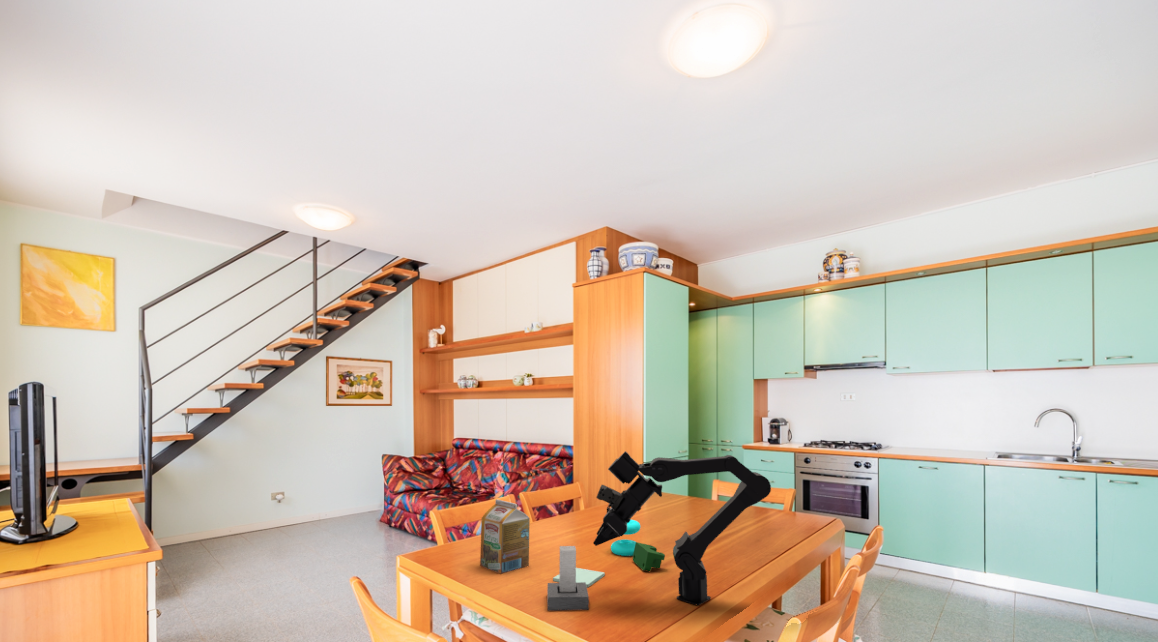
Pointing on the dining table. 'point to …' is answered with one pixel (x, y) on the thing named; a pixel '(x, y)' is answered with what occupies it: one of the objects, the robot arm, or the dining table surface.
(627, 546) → the donuts
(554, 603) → the socket block
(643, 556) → the clamp
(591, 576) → the pad
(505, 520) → the milk carton
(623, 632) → the dining table surface
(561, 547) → the peg
